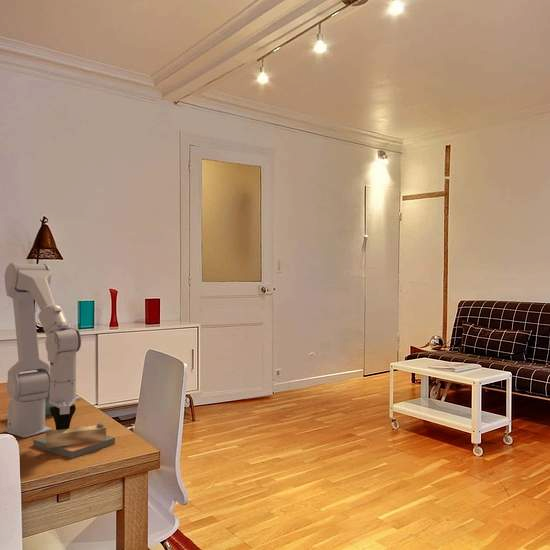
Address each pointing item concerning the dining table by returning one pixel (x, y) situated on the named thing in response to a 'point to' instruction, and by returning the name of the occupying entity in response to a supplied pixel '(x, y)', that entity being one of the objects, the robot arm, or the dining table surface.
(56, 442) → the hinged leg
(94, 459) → the dining table surface
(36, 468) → the dining table surface
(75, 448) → the grey rectangular frame
